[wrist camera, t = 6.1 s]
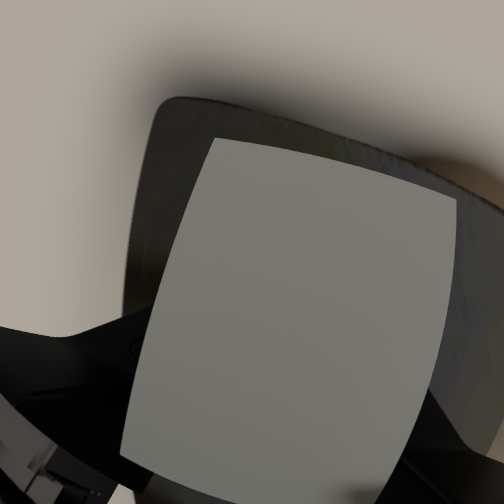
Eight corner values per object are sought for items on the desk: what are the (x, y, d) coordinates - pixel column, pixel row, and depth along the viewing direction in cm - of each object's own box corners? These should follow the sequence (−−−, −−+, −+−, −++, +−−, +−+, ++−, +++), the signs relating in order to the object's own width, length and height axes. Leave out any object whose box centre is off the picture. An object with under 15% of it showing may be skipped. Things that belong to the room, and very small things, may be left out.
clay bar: (304, 367, 14) (362, 521, 2) (250, 352, 14) (119, 454, 2) (325, 295, 15) (456, 199, 3) (271, 281, 15) (214, 138, 3)
